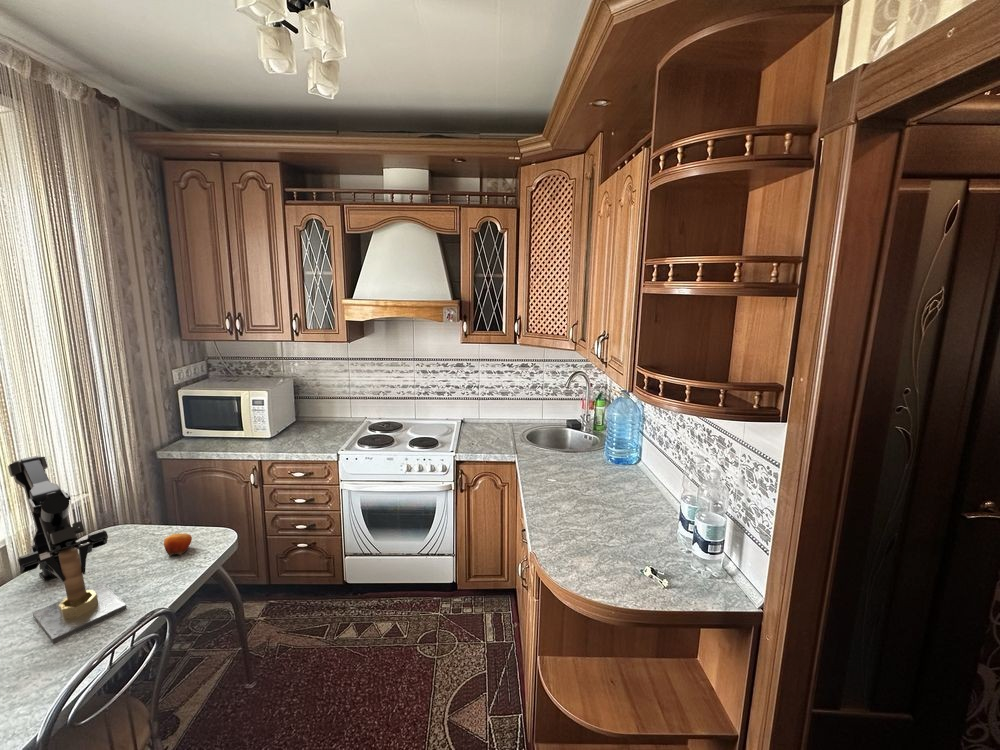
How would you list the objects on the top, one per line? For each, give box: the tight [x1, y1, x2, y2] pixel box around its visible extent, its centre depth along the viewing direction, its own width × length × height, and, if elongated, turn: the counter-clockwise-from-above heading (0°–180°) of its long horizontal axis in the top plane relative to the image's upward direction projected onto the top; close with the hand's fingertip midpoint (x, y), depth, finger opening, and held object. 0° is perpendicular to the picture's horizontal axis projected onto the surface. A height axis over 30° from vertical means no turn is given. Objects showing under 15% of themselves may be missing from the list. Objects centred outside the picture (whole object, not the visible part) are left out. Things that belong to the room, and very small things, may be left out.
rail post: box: [58, 548, 87, 601], centre depth 133 cm, size 4×4×14 cm
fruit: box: [163, 532, 193, 557], centre depth 165 cm, size 8×8×8 cm
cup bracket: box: [32, 582, 127, 645], centre depth 135 cm, size 18×16×4 cm
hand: (74, 577), depth 133 cm, fingers closed on rail post, 4 cm apart
